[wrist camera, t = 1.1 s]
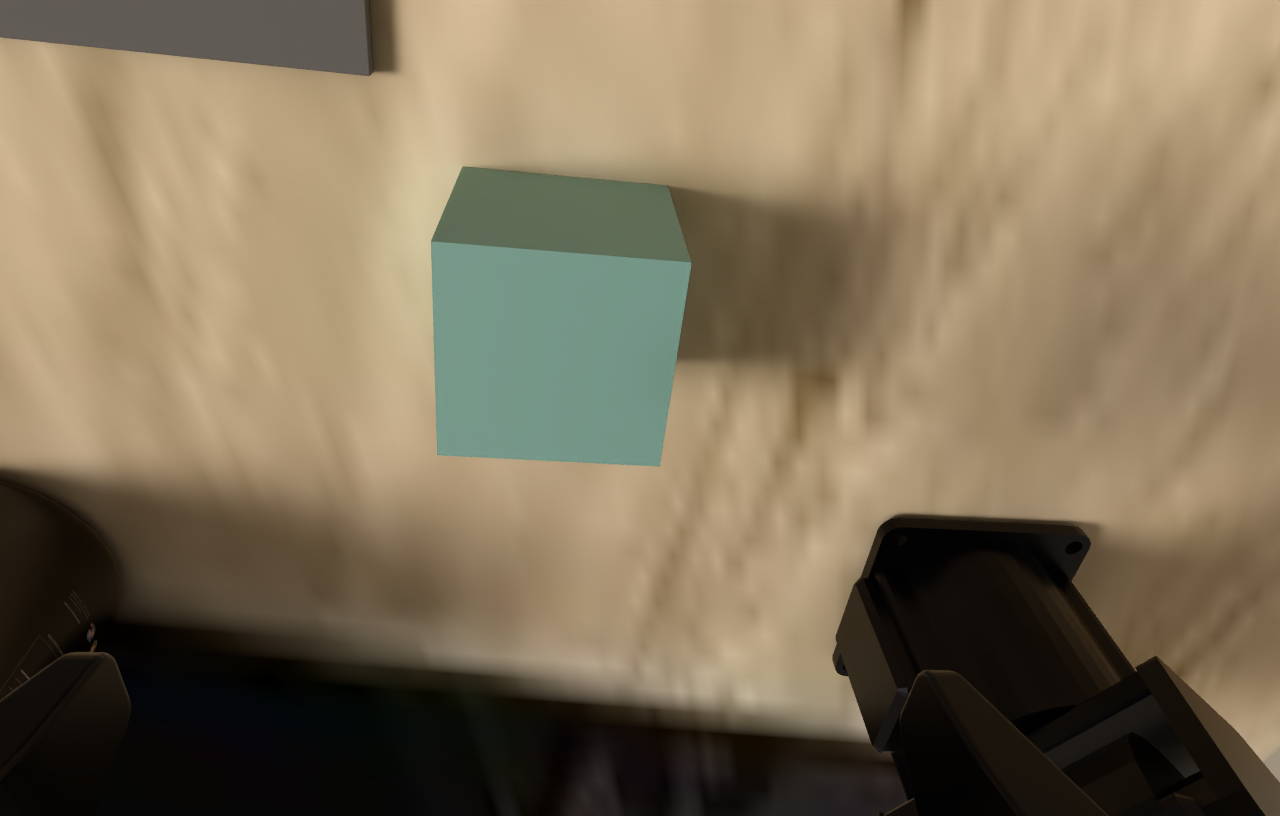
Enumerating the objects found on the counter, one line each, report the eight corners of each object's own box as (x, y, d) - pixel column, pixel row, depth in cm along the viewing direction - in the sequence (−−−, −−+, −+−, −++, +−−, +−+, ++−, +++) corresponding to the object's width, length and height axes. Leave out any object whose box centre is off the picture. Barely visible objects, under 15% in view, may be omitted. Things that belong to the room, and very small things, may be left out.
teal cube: (667, 184, 18) (691, 262, 14) (643, 359, 20) (659, 466, 16) (462, 165, 17) (430, 241, 14) (463, 347, 20) (437, 454, 16)
